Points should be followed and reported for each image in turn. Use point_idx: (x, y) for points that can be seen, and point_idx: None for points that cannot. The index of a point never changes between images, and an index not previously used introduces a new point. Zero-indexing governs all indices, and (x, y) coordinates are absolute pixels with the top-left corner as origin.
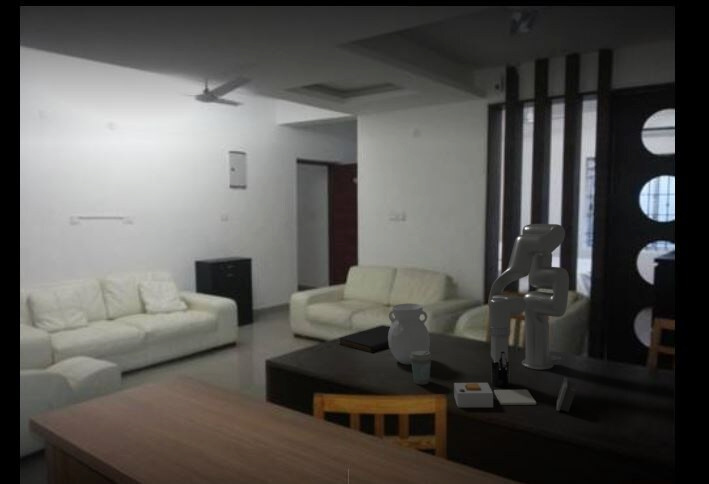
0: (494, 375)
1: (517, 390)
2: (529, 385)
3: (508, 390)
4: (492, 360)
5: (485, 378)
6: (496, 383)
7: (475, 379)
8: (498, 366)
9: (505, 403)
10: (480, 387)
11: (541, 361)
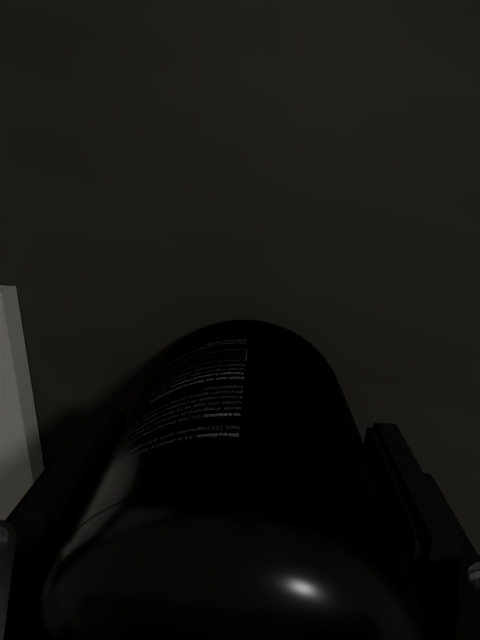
0: (155, 392)
1: (16, 497)
2: None
3: (4, 427)
4: (274, 594)
5: (452, 290)
6: (161, 362)
7: (444, 151)
8: (9, 576)
9: None
10: None
11: None
